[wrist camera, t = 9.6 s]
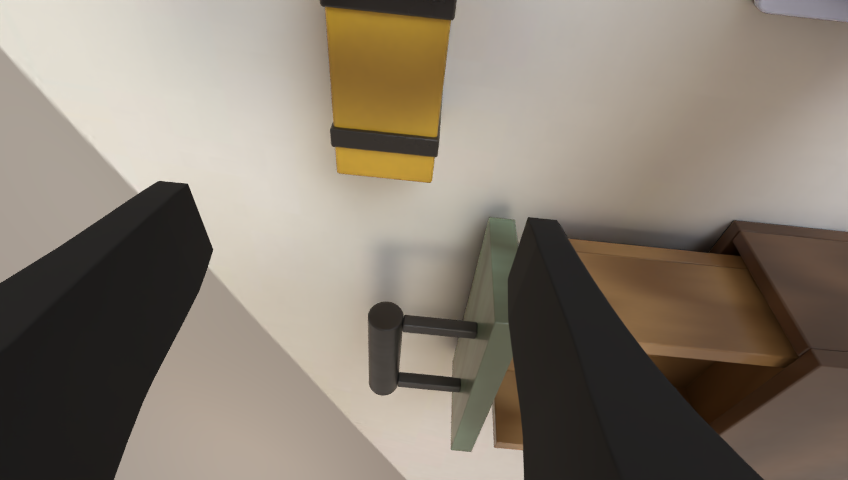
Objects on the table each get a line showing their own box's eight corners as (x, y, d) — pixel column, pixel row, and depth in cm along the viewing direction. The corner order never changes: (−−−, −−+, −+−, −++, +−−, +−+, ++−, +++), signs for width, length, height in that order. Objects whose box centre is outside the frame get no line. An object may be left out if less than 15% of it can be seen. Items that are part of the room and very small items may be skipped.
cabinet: (614, 370, 31) (643, 487, 26) (733, 219, 21) (821, 365, 16) (847, 393, 31) (922, 514, 26) (1080, 255, 21) (1278, 410, 16)
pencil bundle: (437, 131, 19) (433, 187, 16) (350, 122, 18) (333, 176, 16) (467, -123, 13) (468, -96, 10) (340, -137, 13) (309, -114, 10)
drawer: (377, 353, 30) (364, 442, 26) (379, 205, 20) (358, 309, 17) (681, 383, 30) (713, 475, 26) (822, 250, 21) (906, 363, 17)
